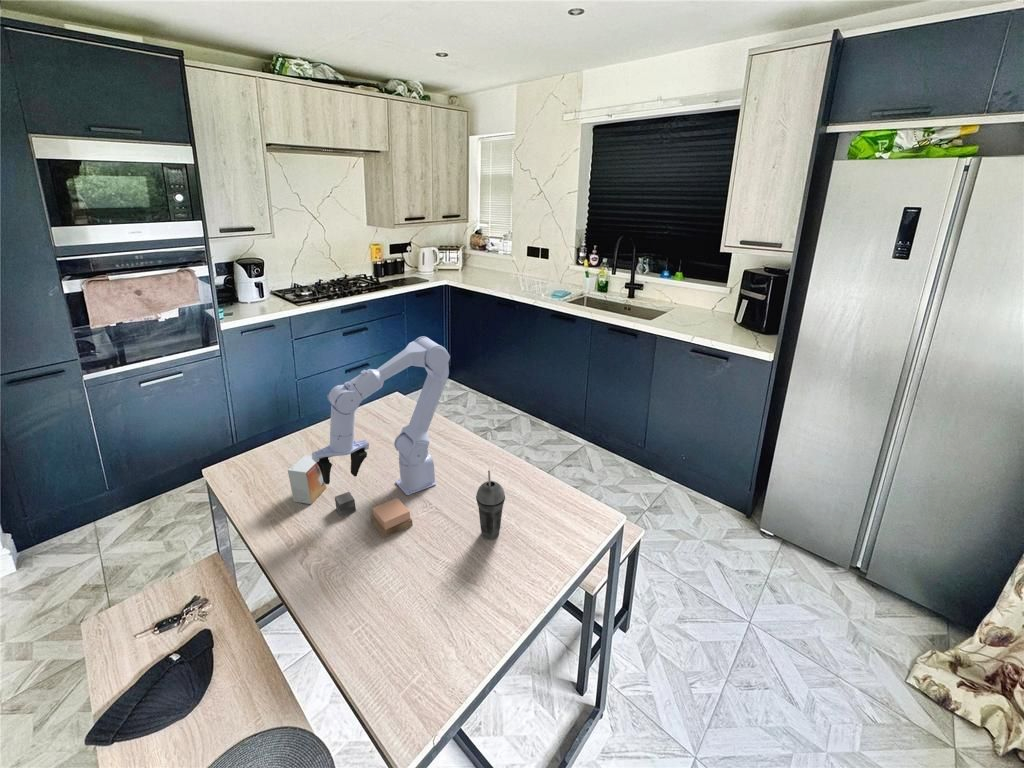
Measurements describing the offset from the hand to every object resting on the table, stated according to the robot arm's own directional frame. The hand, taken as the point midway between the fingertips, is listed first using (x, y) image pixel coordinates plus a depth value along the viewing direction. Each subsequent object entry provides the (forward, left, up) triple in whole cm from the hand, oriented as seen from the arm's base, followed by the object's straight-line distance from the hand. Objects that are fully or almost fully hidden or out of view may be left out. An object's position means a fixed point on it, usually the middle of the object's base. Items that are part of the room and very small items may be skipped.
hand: (340, 478), depth 130 cm
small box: (+6, -12, -11) cm, 17 cm away
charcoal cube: (0, 0, -10) cm, 10 cm away
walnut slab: (-8, +12, -11) cm, 18 cm away
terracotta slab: (-8, +12, -8) cm, 17 cm away
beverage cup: (-27, +30, -11) cm, 42 cm away
